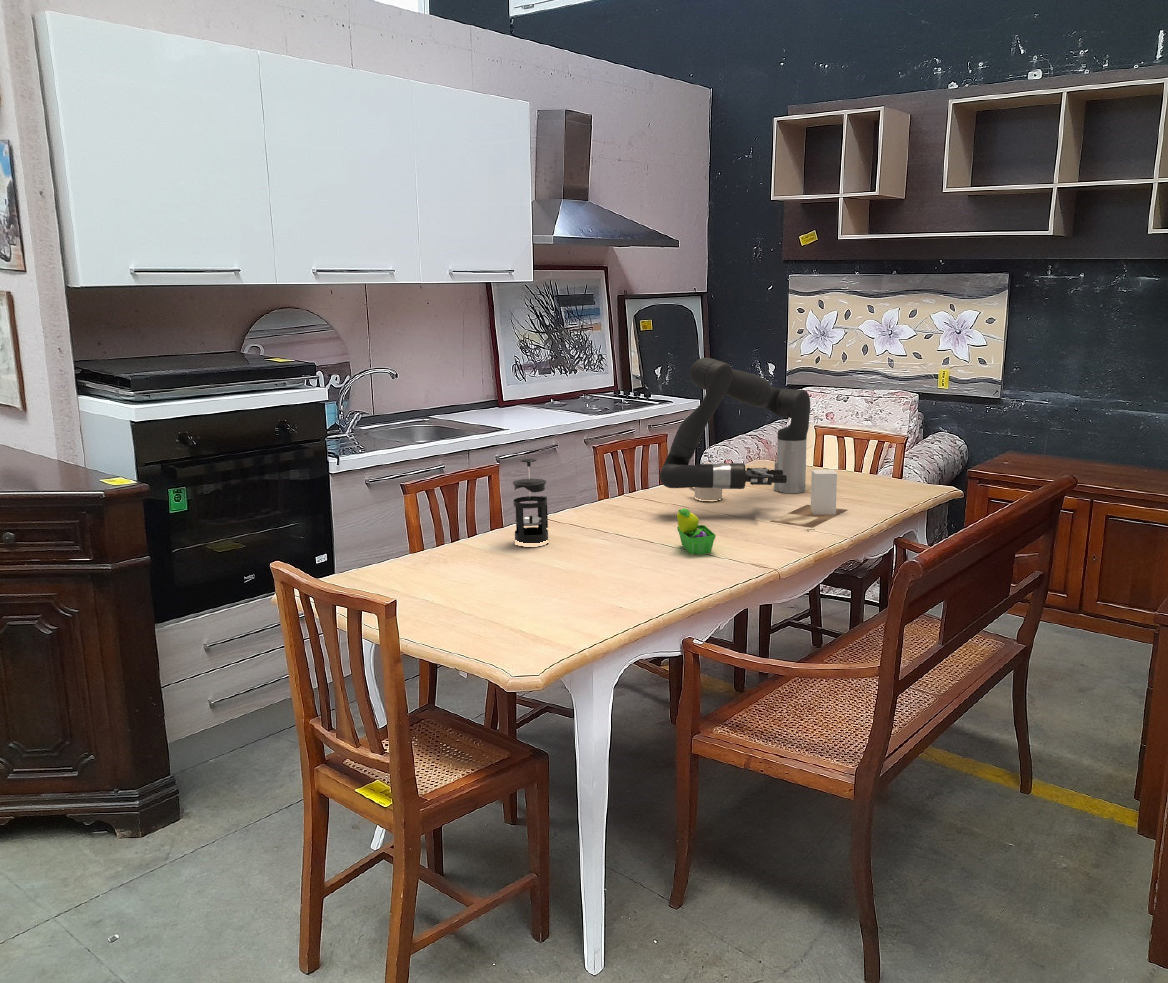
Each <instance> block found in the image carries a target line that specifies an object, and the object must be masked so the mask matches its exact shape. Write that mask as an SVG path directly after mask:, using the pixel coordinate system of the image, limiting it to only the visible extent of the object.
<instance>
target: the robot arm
mask: <svg viewBox="0 0 1168 983" xmlns="http://www.w3.org/2000/svg"><path fill="white" fill-rule="evenodd" d="M689 372H690V373H689V376H690V379H691V382H692V383H693V384H694V386H696V387H697V388H699V389H701V390H705V391H706V393H705V395H704V397H703V399H702V401H701V403H699V405H698V406H697V407H696V408H695V409H694V410H693V411H692V412H691V413H690V414H688V416H687V417H685V419H683V421H682V423H680V425H679V427H678V429H677V431H676V433H675V435H674V438H673V441H672V443H671V447H670V449H669V453H668V455H667V457H666V458H665V461H664V463H663V465H662V467H661V469H660V471H659V472H660V473H659V480H660V483H661V484H662V485H663V487H665V488H669V489H687V488H690V487H692V488H695V487H697V488H717V489H722V490H744V489H745V488H746V483H749V484H750V485H752V486H756V485H757V486H772V485H773V491H774V490H777V491H776V492H778V491H780V492H779V493H782V492H783V493H784V494H802V493H805V492H806V487H807V486H806V485H807V484H806V481H807V480H806V476H807V470H806V469H807V435H808V432H809V428H810V417H811V416H810V414H811V398H810V394H809V393H808V392H807V391H806V390H804V389H794V388H780V387H779V388H778V387H774V386H771V384H770V382H769V381H768V380H767V379H766V378H764V377H762V376H759V375H757V374H754V373H750V372H747V371H744V370H738V369H733V368H732V366H731V365H730V364H729V363H726V362H724V361H721V360H718V359H714V358H711V357H701V358H698V359H697V360H696V361H694V362H693V364H692V365H691V367H690V370H689ZM725 396H727V397H730V398H732V399H734V400H736V401H738V402H740V403H743V404H746V405H748V406H752V407H756V408H759V409H760V408H762V409H765V410H767V411H768V412H770V413H772V414H774V415H776V416H778V417H781V418H787V419H790V422H789V425H788V426H786V427H783V428H780V429H778V431H777V442H776V443H777V444H776V445H777V447H776V448H777V449H776V450H777V453H776V455H777V456H776V461H775V462H774V466H773V467H774V469H770V468H767V467H746V464H745V463H743V462H739V463H738V462H735V463H734V462H733V463H732V462H725V463H723V462H719V463H711V464H706V463H700V464H699V463H698V464H690V460H691V459H692V457H693V456H694V455H695V452H696V449H697V447H698V445H699V443H700V440H701V439H702V438H701V437H702V434H703V433H704V431H705V429H706V427H707V426H708V423H709V421H710V420H711V418H712V417H713V416H714V413H715V412H716V410H717V409H718V407H719V406H720V404H721V402H722V400H723V399H724V397H725ZM783 493H782V494H783Z"/></svg>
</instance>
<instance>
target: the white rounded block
mask: <svg viewBox="0 0 1168 983" xmlns="http://www.w3.org/2000/svg"><path fill="white" fill-rule="evenodd" d="M810 478H811V480H810V481H811V484H810V486H811V488H810V505H811V511H812V512H813V514H814V515H836V508H837V490H838V489H837V488H838V487H837V485H838V480H837V479H838V473H837V472H836V471H835V470H834V469H811V477H810Z"/></svg>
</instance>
